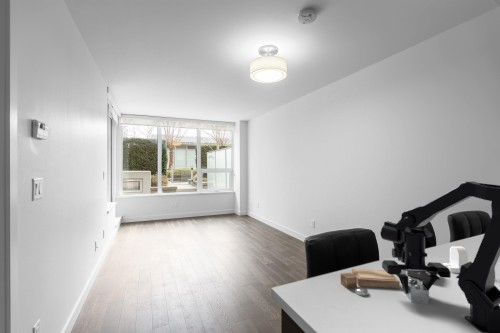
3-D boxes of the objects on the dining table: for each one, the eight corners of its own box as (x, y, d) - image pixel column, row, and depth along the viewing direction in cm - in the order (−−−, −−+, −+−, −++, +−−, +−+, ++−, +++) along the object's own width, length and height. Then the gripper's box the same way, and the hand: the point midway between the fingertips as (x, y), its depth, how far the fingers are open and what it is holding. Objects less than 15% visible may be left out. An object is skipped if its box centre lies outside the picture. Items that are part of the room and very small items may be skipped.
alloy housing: (429, 304, 78) (429, 288, 78) (411, 302, 79) (411, 286, 79) (418, 292, 85) (418, 277, 85) (402, 290, 87) (402, 275, 87)
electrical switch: (434, 273, 92) (405, 261, 98) (430, 285, 92) (402, 274, 98) (437, 265, 98) (410, 255, 105) (434, 277, 99) (408, 267, 105)
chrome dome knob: (369, 297, 82) (369, 293, 82) (356, 296, 83) (356, 292, 83) (365, 291, 86) (365, 287, 86) (353, 290, 87) (353, 286, 87)
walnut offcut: (356, 288, 89) (356, 277, 89) (346, 289, 88) (346, 278, 88) (350, 283, 92) (350, 272, 92) (340, 284, 92) (340, 273, 92)
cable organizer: (442, 267, 106) (442, 244, 106) (466, 268, 105) (466, 245, 105) (450, 272, 101) (450, 248, 101) (477, 273, 100) (476, 249, 100)
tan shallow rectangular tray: (399, 288, 88) (399, 280, 88) (358, 285, 90) (358, 278, 90) (389, 277, 97) (389, 270, 97) (351, 275, 99) (351, 268, 99)
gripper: (431, 241, 89) (431, 284, 89) (376, 239, 92) (376, 281, 92) (451, 251, 78) (451, 301, 78) (388, 249, 81) (388, 296, 81)
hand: (414, 293), depth 82 cm, fingers closed on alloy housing, 5 cm apart
